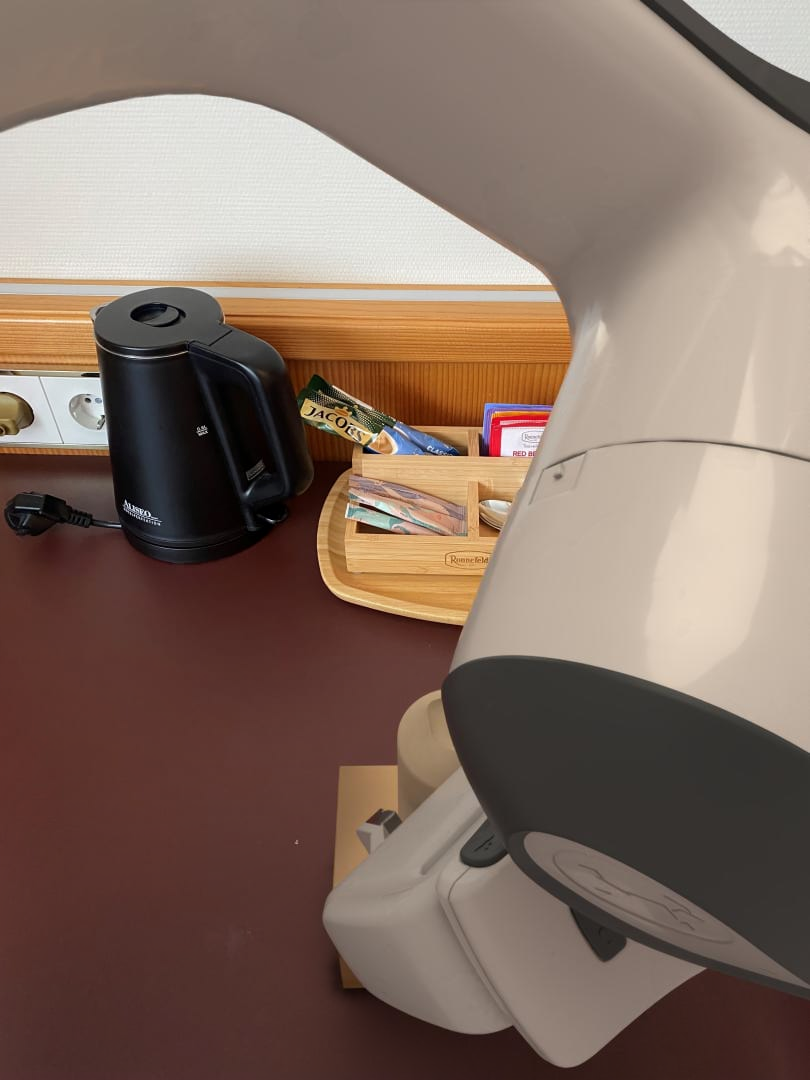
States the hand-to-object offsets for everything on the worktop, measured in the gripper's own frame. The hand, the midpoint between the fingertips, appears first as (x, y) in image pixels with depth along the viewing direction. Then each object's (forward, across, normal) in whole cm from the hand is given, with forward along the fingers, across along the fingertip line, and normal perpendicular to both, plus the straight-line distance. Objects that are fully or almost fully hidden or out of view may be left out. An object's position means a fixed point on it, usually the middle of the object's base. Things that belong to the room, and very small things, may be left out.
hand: (444, 767), depth 38 cm
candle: (+3, 0, +4) cm, 6 cm away
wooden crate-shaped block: (+11, 0, +12) cm, 16 cm away
